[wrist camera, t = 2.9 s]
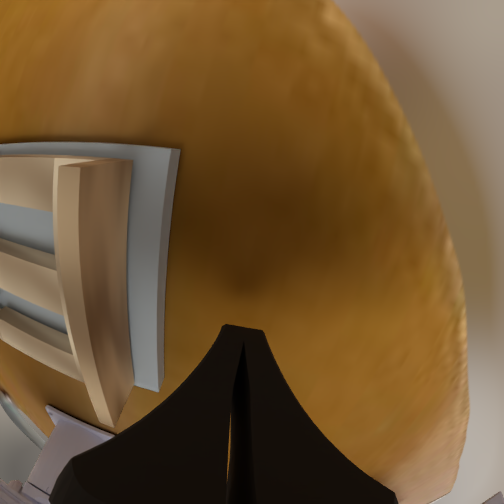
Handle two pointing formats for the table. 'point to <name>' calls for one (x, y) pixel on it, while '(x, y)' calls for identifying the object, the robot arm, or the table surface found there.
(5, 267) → the beige flat slatted frame
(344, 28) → the table surface
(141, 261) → the board
